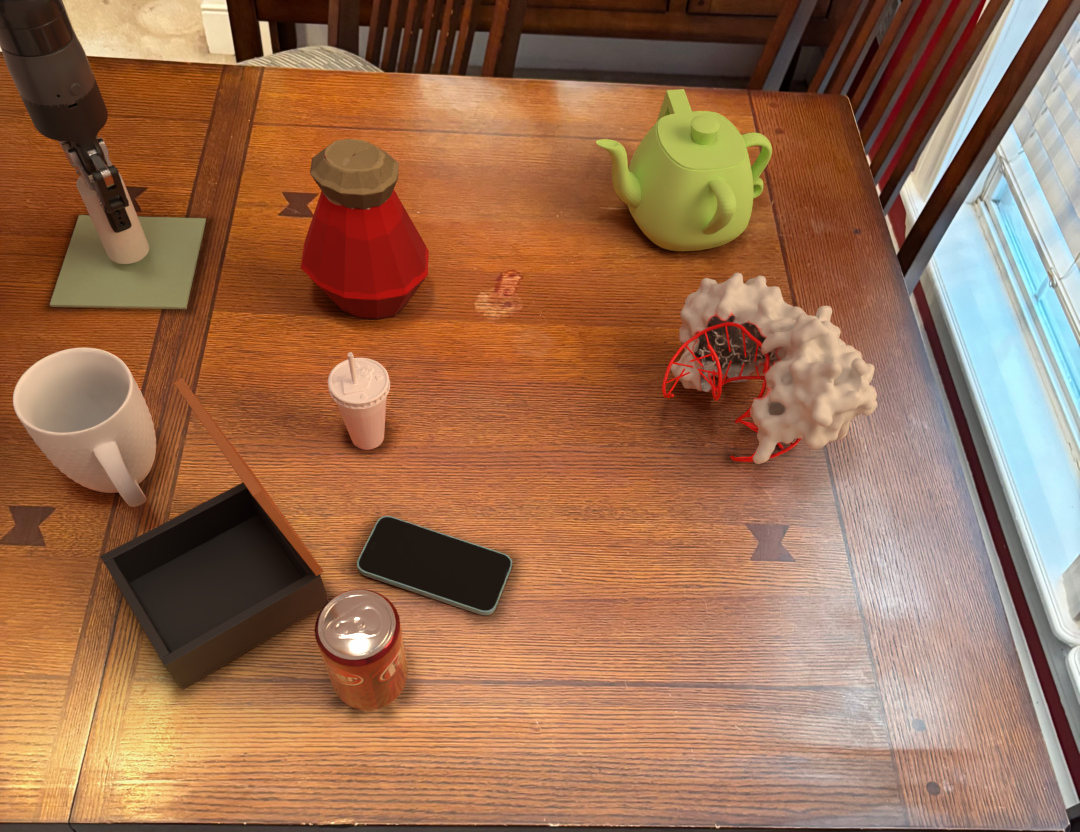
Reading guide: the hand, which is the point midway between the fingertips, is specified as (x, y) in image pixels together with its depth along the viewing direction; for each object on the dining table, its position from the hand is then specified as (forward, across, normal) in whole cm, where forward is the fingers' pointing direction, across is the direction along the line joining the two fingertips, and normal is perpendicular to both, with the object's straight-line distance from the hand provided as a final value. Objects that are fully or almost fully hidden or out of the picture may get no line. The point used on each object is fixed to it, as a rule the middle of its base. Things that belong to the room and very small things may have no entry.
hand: (112, 214), depth 107 cm
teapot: (+8, +31, +64) cm, 71 cm away
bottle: (+7, +21, +22) cm, 31 cm away
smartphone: (+7, +58, +7) cm, 59 cm away
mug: (+7, +30, -14) cm, 34 cm away
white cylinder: (+5, 0, 0) cm, 5 cm away
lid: (-7, +49, -6) cm, 50 cm away
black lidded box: (+7, +49, -12) cm, 51 cm away
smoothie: (+7, +40, +10) cm, 42 cm away
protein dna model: (+8, +63, +48) cm, 79 cm away
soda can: (+7, +65, -5) cm, 65 cm away
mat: (+7, 0, 0) cm, 7 cm away
